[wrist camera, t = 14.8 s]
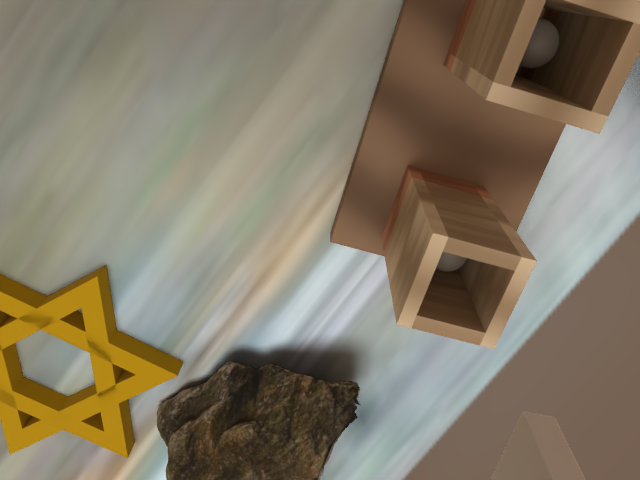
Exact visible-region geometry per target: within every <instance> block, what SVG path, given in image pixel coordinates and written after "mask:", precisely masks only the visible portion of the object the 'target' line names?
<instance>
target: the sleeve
mask: <svg viewBox="0 0 640 480" xmlns="http://www.w3.org/2000/svg"><path fill="white" fill-rule="evenodd" d="M543 8H544V9H545V11H544V14H543V16H542V18H544V19H546V20H548V21H550V22H551V23H552V24H553V25H554V26H555V27H556V29H557V31H558V34H559V46H558V50H557V52H556V54H555V55H554V57H553V58H552V59H551V60H550V61H549V62H547V63H546V64H544V65H543V66H540V67H536V68H526V67H521V70H520V72H519V73H516V72H517V70H518V68H519V65H520V63H521V60H522V58H523V55H524V53H525V50H526V48H527V46H528V43H529V41H530V38H531V36H532V33H533V31H534V29H535V26H536V24H537V21H538V19H539V16H540V14H541V12H542V9H543ZM639 52H640V1H638V0H466V3H465V6H464V8H463V11H462V14H461V17H460V20H459V22H458V25H457V28H456V31H455V34H454V36H453V39H452V42H451V45H450V48H449V50H448V53H447V56H446V59H445V62H444V64H443V65H444V66H445V67H446V68H447V69H449V70H450V71H451V72H452V73H453V74H455V75H456V76H457V77H458V78H460V79H461V80H462V81H463V82H465V83H466V84H467V85H468V86H469V87H471V88H472V89H473V90H474V91H476V92H477V93H478V94H479V95H480V96H482V97H483V98H484V99H485V100H488V101H491V102H494V103H498V104H501V105H505V106H508V107H511V108H515V109H518V110H521V111H525V112H528V113H532V114H535V115H538V116H542V117H545V118H548V119H552V120H555V121H559V122H562V123H565V124H569V125H572V126H575V127H579V128H582V129H586V130H589V131H592V132H596V133H599V134H600V132H601V130H602V128H603V126H604V124H605V122H606V120H607V118H608V116H609V114H610V112H611V109H612V107H613V105H614V103H615V101H616V99H617V97H618V95H619V93H620V91H621V89H622V87H623V85H624V83H625V81H626V79H627V77H628V75H629V73H630V71H631V69H632V67H633V65H634V63H635V61H636V58H637V56H638V54H639Z"/></svg>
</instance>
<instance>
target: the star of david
mask: <svg viewBox="0 0 640 480" xmlns="http://www.w3.org/2000/svg"><path fill="white" fill-rule="evenodd" d="M80 308H82V313H80V312H78V311H76V310H78V309H80ZM8 314H9V315H11V316H10V317H8ZM40 329H41V330H43V331H45V332H47V333H49V334H51V335H53V336H55V337H57V338H60V339H62V340H64V341H66V342H68V343H70V344H72V345H74V346H76V347H79V348H81V349H83V350H85V351H87V352H89V353H90V357H91V363H92V368H93V373H94V379H95V384H94V385H92V386H90V387H88V388H86V389H84V390H82V391H80V392H78V393H76V394H73V395H71V396H69V397H67V396H65V395H63V394H61V393H58V392H56V391H54V390H52V389H49V388H47V387H45V386H43V385H40V384H38V383H36V382H34V381H32V380H29V379H27V378H25V377H23V373H22V369H21V365H20V361H19V357H18V353H17V349H16V345H15V343H16V342H18V341H19V340H21V339H23V338H25V337H27V336H29V335H31V334H33V333H35V332H36V331H38V330H40ZM182 364H183V361H181V360H179V359H177V358H175V357H173V356H170V355H168V354H166V353H164V352H162V351H160V350H158V349H156V348H154V347H152V346H150V345H147V344H145V343H143V342H141V341H139V340H137V339H135V338H133V337H131V336H129V335H126V334H124V333H122V332H120V331H118V330H117V328H116V322H115V316H114V310H113V303H112V297H111V291H110V285H109V279H108V272H107V266H104V267H102V268H100V269H98V270H96V271H94V272H93V273H91V274H89V275H87V276H85V277H83V278H81V279H79V280H78V281H76V282H74V283H72V284H70V285H68V286H66V287H64V288H63V289H61V290H59V291H57V292H55V293H53V294H51V295H50V296H48V297H47V296H45V295H43V294H41V293H39V292H36V291H34V290H32V289H30V288H28V287H26V286H24V285H22V284H20V283H18V282H15V281H13V280H11V279H9V278H7V277H5V276H3V275H1V274H0V419H1V423H2V427H3V430H4V434H5V438H6V441H7V445H8V449H9V452H10V454H12V453H14V452H16V451H18V450H21V449H23V448H25V447H27V446H29V445H31V444H33V443H36V442H38V441H40V440H42V439H44V438H46V437H48V436H50V435H53V434H55V433H57V432H59V431H61V430H65V431H68V432H70V433H72V434H74V435H77V436H79V437H81V438H83V439H86V440H88V441H90V442H93V443H95V444H97V445H99V446H102V447H104V448H106V449H108V450H111V451H113V452H115V453H118V454H120V455H122V456H124V457H127V458H128V457H129V454H130V452H131V450H132V448H133V445H134V443H135V441H134V434H133V428H132V422H131V416H130V409H129V403H128V399H129V398H131V397H133V396H136V395H138V394H140V393H142V392H144V391H146V390H148V389H150V388H153V387H155V386H157V385H159V384H161V383H163V382H165V381H167V380H170V379H172V378H174V377H176V376H178V374H179V371H180V369H181V366H182ZM123 369H125V370H123Z"/></svg>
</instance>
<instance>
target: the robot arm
mask: <svg viewBox="0 0 640 480" xmlns="http://www.w3.org/2000/svg"><path fill="white" fill-rule="evenodd" d="M490 480H586V479H585V477H584V475H583V473H582V471H581V469H580V467H579V465H578V463H577V461H576V459H575V457H574V455H573V453H572V451H571V449H570V447H569V445H568V443H567V441H566V439H565V437H564V435H563V433H562V431H561V429H560V427H559V425H558V423H557V421H556V419H555V417H551V416H546V415H541V414H536V413H531V412H526V411H523V412H522V414H521V417H520V419H519V420H518V423H517V425H516V427H515V429H514V431H513V433H512V435H511V437H510V439H509V441H508V443H507V446H506V448H505V450H504V452H503V454H502V456H501V458H500V460H499V462H498V464H497V466H496V469H495V471H494V473H493V475H492V477H491V479H490Z"/></svg>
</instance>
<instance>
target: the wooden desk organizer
mask: <svg viewBox="0 0 640 480" xmlns="http://www.w3.org/2000/svg"><path fill="white" fill-rule="evenodd" d="M465 3H466V0H404V2H403V5H402V8H401V12H400V15H399V18H398V21H397V24H396V27H395V31H394V34H393V37H392V40H391V43H390V46H389V50H388V53H387V56H386V59H385V62H384V65H383V69H382V72H381V75H380V78H379V81H378V84H377V88H376V91H375V94H374V97H373V100H372V103H371V107H370V110H369V113H368V116H367V119H366V123H365V126H364V129H363V132H362V135H361V138H360V142H359V145H358V148H357V151H356V154H355V157H354V161H353V164H352V167H351V170H350V173H349V176H348V180H347V183H346V186H345V189H344V192H343V195H342V199H341V202H340V205H339V208H338V211H337V214H336V218H335V221H334V224H333V227H332V230H331V237H330V242H333V243H337V244H340V245H344V246H348V247H352V248H355V249H359V250H363V251H367V252H370V253H374V254H378V255H382V256H385V261H386V266H387V272H388V278H389V283H390V289H391V294H392V300H393V306H394V311H395V317H396V323H397V324H398V325H402V326H406V327H410V328H414V329H418V330H421V331H425V332H429V333H433V334H437V335H441V336H445V337H449V338H453V339H457V340H461V341H465V342H469V343H472V344H476V345H480V346H484V347H488V348H492V349H494V348H495V346H496V344H497V342H498V340H499V338H500V336H501V334H502V331H503V329H504V327H505V325H506V323H507V321H508V319H509V317H510V315H511V313H512V311H513V309H514V307H515V305H516V303H517V301H518V299H519V297H520V295H521V293H522V291H523V289H524V287H525V285H526V282H527V280H528V278H529V276H530V274H531V272H532V270H533V268H534V266H535V264H536V262H537V260H536V259H535V258H534V256H533V255H532V253H531V252H530V251H529V249H528V248H527V246H526V245H525V244H524V242H523V241H522V239H521V238H520V237H519V235H518V234H517V232H516V231H517V229H518V227H519V224H520V222H521V220H522V218H523V216H524V214H525V211H526V209H527V207H528V205H529V203H530V201H531V198H532V196H533V194H534V192H535V190H536V188H537V185H538V183H539V181H540V179H541V177H542V175H543V172H544V170H545V168H546V166H547V164H548V162H549V159H550V157H551V155H552V153H553V151H554V149H555V146H556V144H557V142H558V140H559V138H560V136H561V133H562V131H563V129H564V127H565V125H566V124H565V123H562V122H559V121H555V120H552V119H548V118H545V117H542V116H538V115H535V114H532V113H528V112H525V111H521V110H518V109H515V108H511V107H508V106H505V105H501V104H498V103H494V102H491V101H488V100H485V99H484V98H483V97H482V96H480V95H479V94H478V93H477V92H476V91H474V90H473V89H472V88H471V87H469V86H468V85H467V84H466V83H465V82H463V81H462V80H461V79H460V78H458V77H457V76H456V75H455V74H453V73H452V72H451V71H450V70H449V69H447V68H446V67H445V66H444V65H443V64H444V62H445V59H446V56H447V53H448V50H449V48H450V45H451V42H452V39H453V36H454V34H455V31H456V28H457V25H458V22H459V20H460V17H461V14H462V11H463V8H464V6H465ZM544 11H545V9H544V8H543V9H542V12H541V14H540V16H539V19H538V21H537V24H536V26H535V29H534V31H533V33H532V36H531V38H530V41H529V43H528V46H527V48H526V50H525V53H524V55H523V58H522V60H521V63H520V65H519V68H518V70H517V72H516V73H519V72H520V70H521V67H526V68H536V67H540V66H543V65H544V64H546V63H547V62H549V61H550V60H551V59H552V58H553V57H554V55H555V54H556V52H557V50H558V46H559V34H558V31H557V29H556V27H555V26H554V25H553V24H552V23H551V22H550V21H548V20H546V19H544V18H542V16H543V14H544Z"/></svg>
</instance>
